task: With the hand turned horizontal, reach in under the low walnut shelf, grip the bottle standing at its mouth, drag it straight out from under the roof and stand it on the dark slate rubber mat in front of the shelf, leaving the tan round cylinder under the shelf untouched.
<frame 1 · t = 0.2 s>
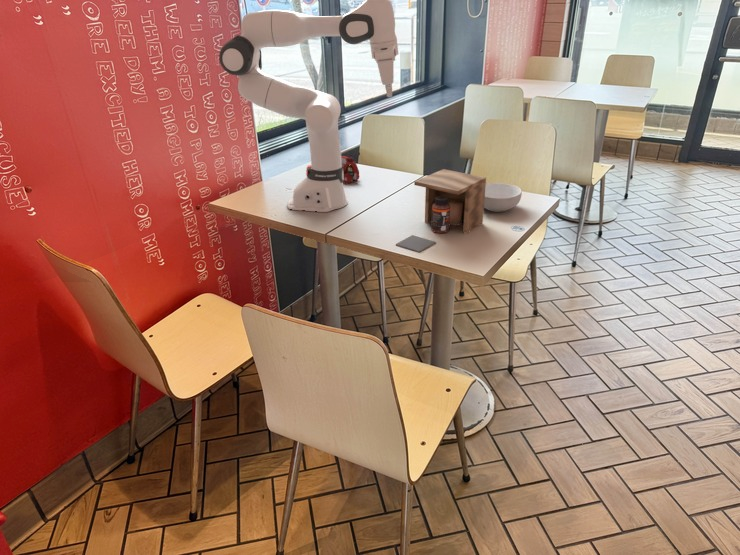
hand: (389, 94, 185), 40 cm above the table, tool pointing down, fingers open, 8 cm apart
slate mat: (415, 244, 170), on the table
tan round cylinder: (454, 222, 186), on the table
toy fire truck: (347, 181, 230), on the table
supplement bottle: (440, 231, 180), on the table
cereal bowl: (496, 208, 197), on the table
walnut shelf: (448, 225, 183), on the table
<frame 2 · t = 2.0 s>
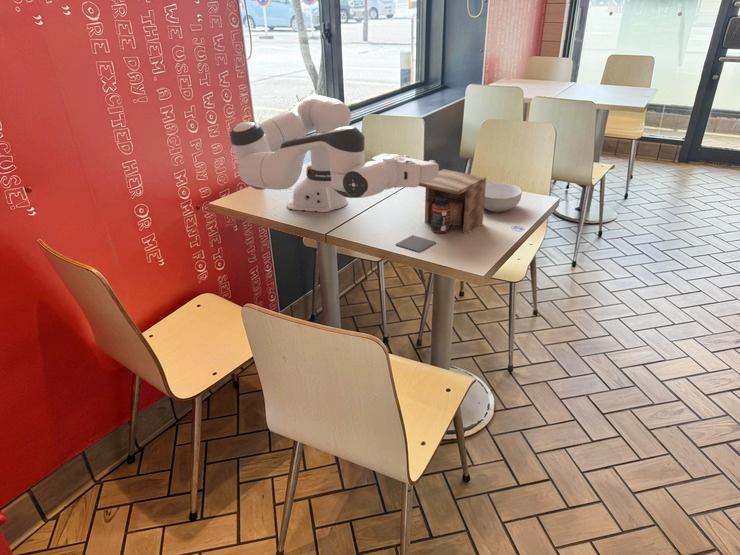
hand: (420, 160, 159), 26 cm above the table, tool horizontal, fingers open, 8 cm apart
nothing on the table moved.
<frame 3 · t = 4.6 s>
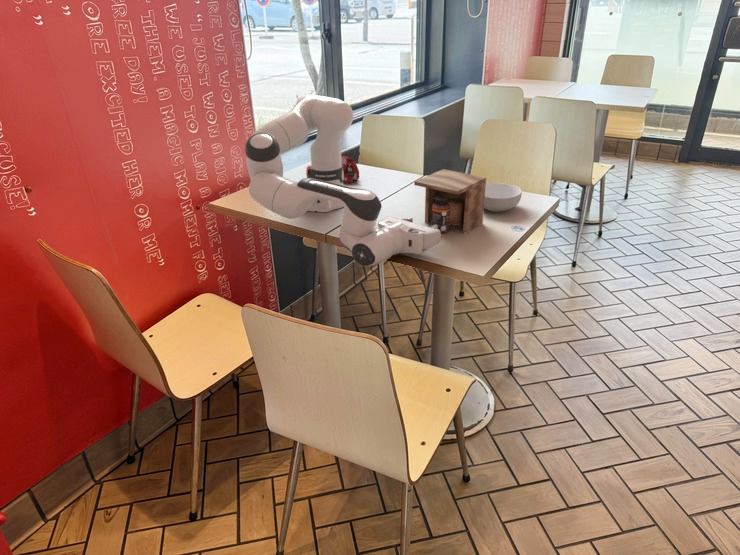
hand: (423, 223, 170), 6 cm above the table, tool horizontal, fingers open, 8 cm apart
nothing on the table moved.
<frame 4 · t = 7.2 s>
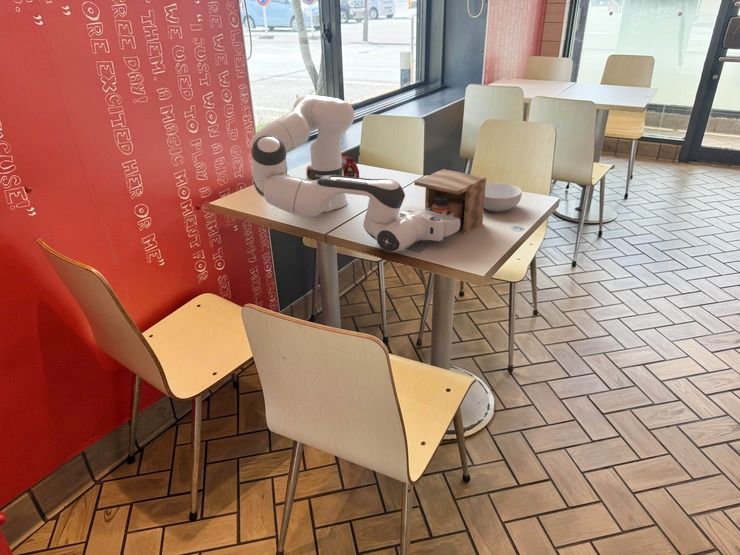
hand: (442, 212, 177), 6 cm above the table, tool horizontal, fingers closed on supplement bottle, 6 cm apart
supplement bottle: (440, 231, 180), on the table, touching gripper
everything else where it was.
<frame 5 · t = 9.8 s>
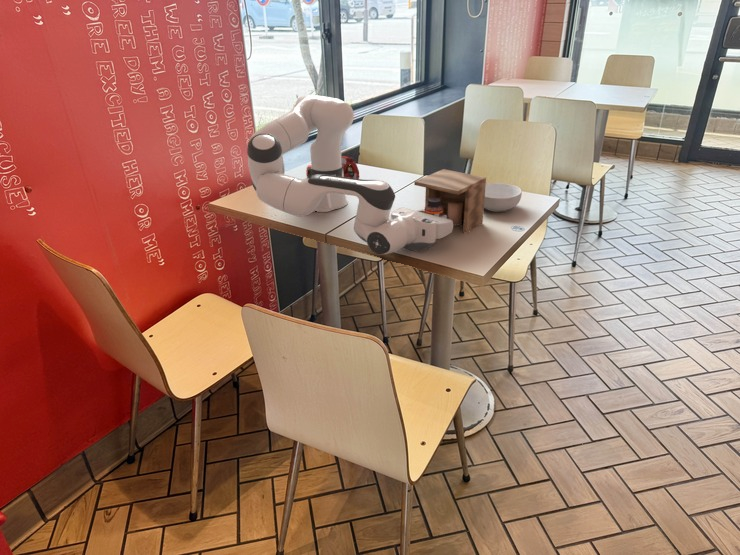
hand: (435, 214, 173), 7 cm above the table, tool horizontal, fingers closed on supplement bottle, 6 cm apart
supplement bottle: (432, 233, 175), point 1 cm above the table, touching gripper
everything else where it was.
when the fingers open (7 cm above the table, at t = 12.7 s): supplement bottle stays where it is, resting on slate mat.
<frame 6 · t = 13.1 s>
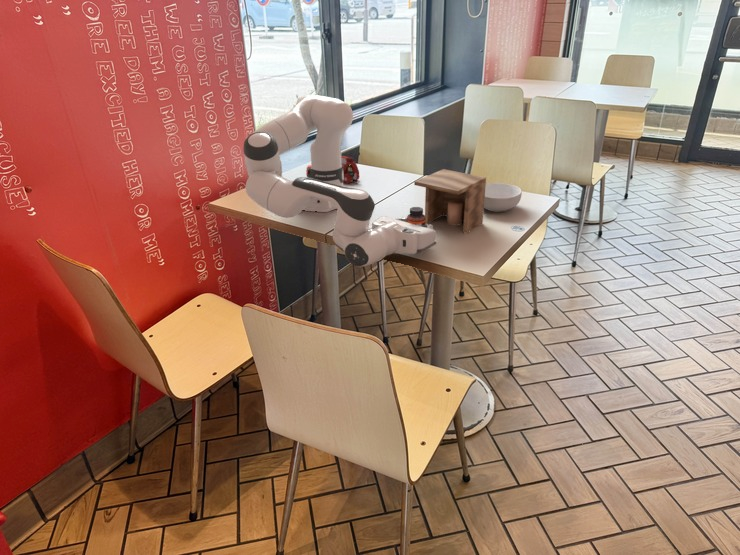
hand: (417, 223, 168), 7 cm above the table, tool horizontal, fingers open, 8 cm apart
supplement bottle: (415, 243, 170), resting on slate mat
everything else where it was.
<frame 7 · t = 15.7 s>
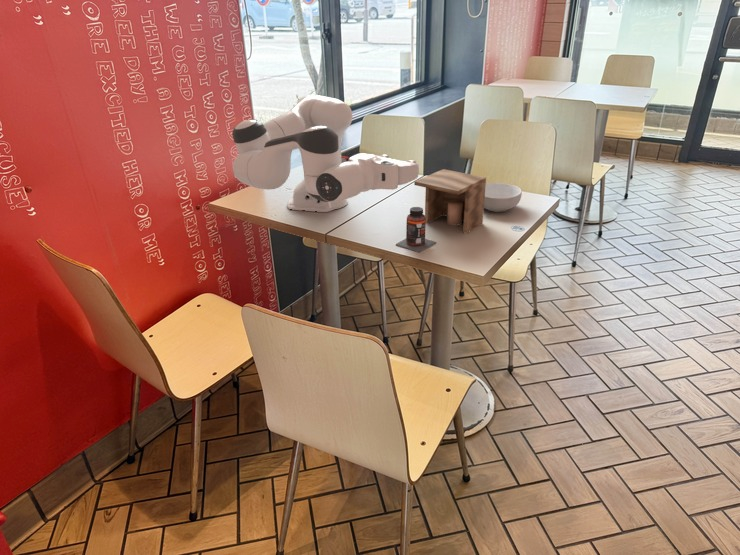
hand: (400, 160, 151), 29 cm above the table, tool horizontal, fingers open, 8 cm apart
nothing on the table moved.
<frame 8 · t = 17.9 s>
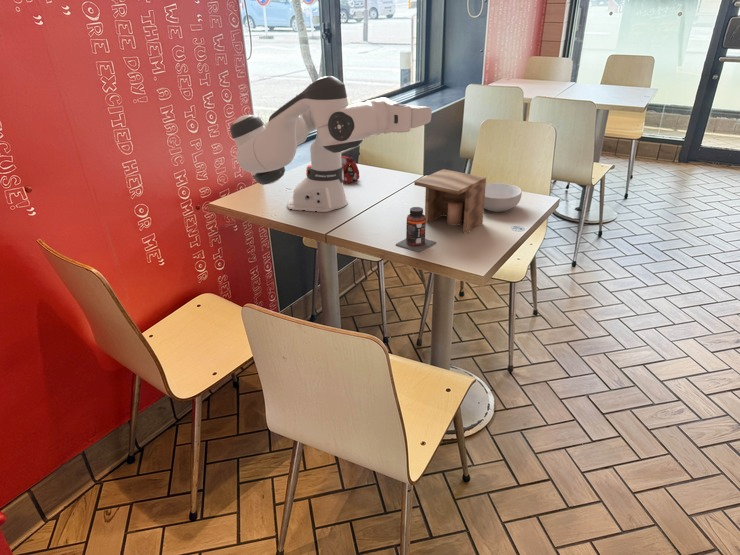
hand: (411, 107, 149), 42 cm above the table, tool horizontal, fingers open, 8 cm apart
nothing on the table moved.
at the end: supplement bottle inside the target area on the slate mat (0.0 cm from its centre), point 0.2 cm above the slate mat's base; supplement bottle tilted 0°; the gripper is holding nothing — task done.
